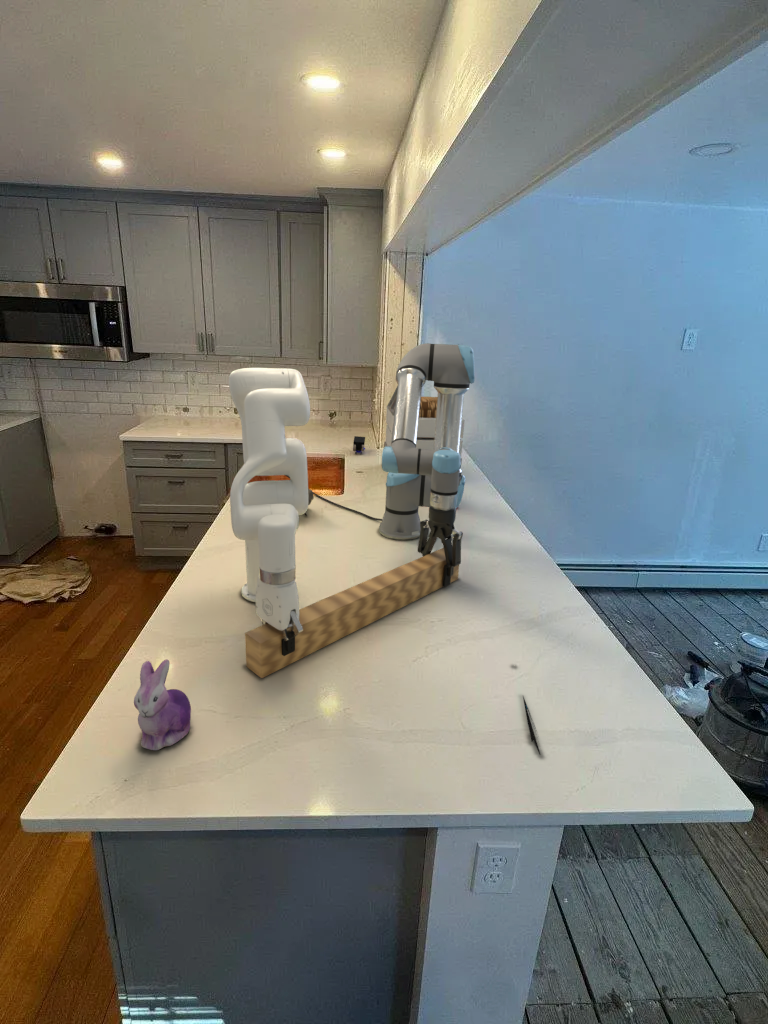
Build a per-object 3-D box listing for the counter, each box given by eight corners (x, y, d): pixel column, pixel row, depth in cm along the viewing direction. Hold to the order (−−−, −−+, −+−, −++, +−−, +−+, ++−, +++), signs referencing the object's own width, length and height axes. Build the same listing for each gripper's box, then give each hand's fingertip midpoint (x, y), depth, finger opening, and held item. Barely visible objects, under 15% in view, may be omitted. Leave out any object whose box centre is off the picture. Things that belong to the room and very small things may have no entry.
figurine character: (364, 457, 303) (365, 448, 317) (365, 444, 300) (365, 435, 313) (352, 457, 303) (353, 447, 316) (352, 444, 300) (353, 434, 313)
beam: (442, 572, 172) (444, 546, 169) (457, 579, 168) (460, 552, 165) (246, 666, 123) (244, 632, 121) (261, 678, 120) (260, 643, 117)
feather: (514, 670, 128) (520, 664, 128) (540, 759, 101) (547, 752, 101) (508, 666, 128) (514, 660, 127) (532, 755, 101) (539, 747, 101)
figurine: (141, 761, 97) (132, 687, 92) (135, 723, 105) (126, 654, 100) (198, 744, 101) (192, 673, 96) (188, 709, 110) (182, 642, 104)
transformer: (382, 463, 289) (386, 382, 275) (445, 464, 293) (451, 384, 279) (390, 482, 257) (394, 392, 243) (460, 483, 261) (468, 394, 247)
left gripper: (239, 565, 122) (242, 637, 128) (288, 593, 111) (289, 671, 117) (267, 555, 127) (270, 625, 133) (318, 581, 116) (317, 656, 122)
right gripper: (407, 500, 161) (403, 573, 169) (463, 518, 148) (455, 597, 156) (424, 495, 166) (419, 566, 174) (479, 512, 154) (471, 588, 161)
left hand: (279, 646), depth 125 cm, fingers closed on beam, 5 cm apart
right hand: (436, 580), depth 165 cm, fingers open, 6 cm apart
